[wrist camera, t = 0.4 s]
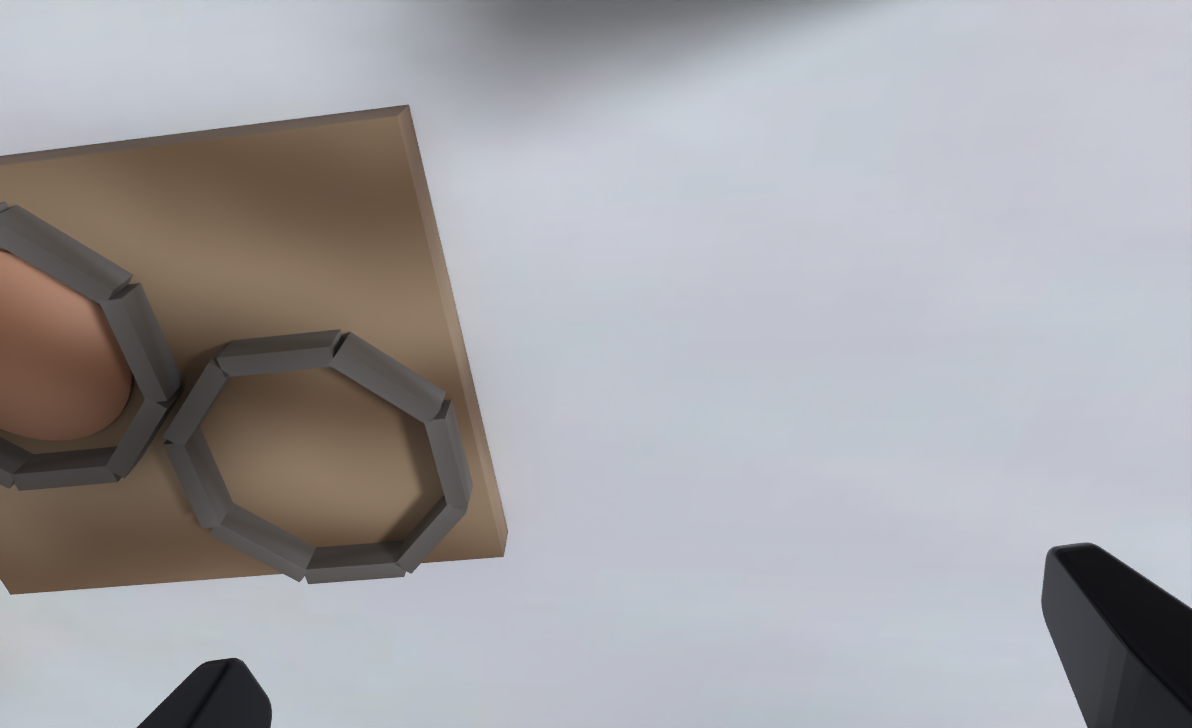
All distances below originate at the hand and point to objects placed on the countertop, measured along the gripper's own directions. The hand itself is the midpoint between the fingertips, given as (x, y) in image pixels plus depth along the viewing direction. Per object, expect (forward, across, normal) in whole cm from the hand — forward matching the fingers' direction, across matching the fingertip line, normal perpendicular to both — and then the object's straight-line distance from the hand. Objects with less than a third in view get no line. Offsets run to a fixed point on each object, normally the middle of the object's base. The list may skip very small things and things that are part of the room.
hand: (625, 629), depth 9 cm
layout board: (+14, +14, +4) cm, 20 cm away
